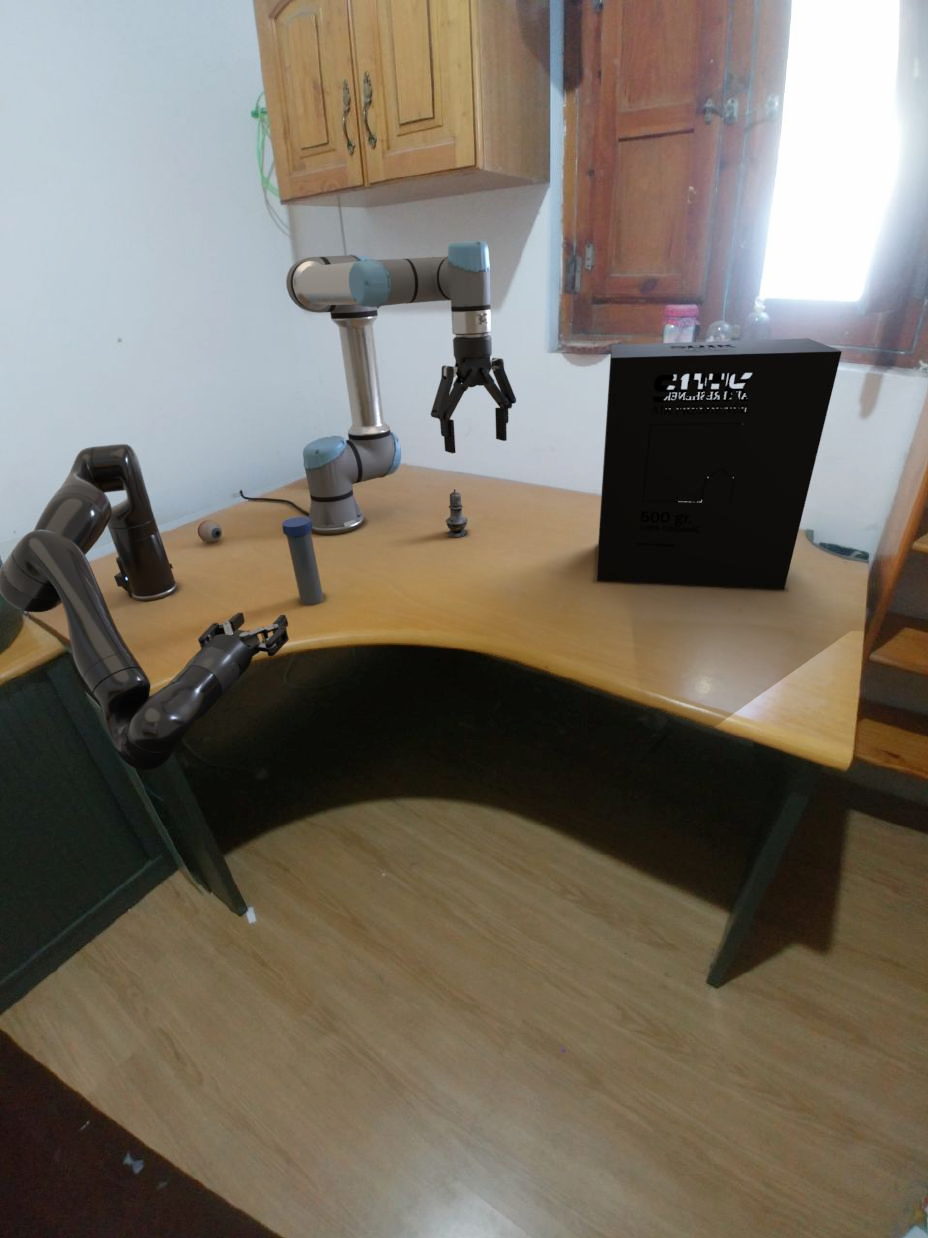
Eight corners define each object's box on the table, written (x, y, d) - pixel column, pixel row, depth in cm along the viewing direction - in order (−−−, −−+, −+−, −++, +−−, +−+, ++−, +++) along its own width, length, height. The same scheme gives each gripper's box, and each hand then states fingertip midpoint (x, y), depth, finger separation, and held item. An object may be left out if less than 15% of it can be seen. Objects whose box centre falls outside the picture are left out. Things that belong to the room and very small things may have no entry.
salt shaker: (466, 537, 156) (463, 492, 150) (444, 537, 157) (440, 492, 151) (470, 529, 161) (468, 485, 155) (449, 528, 162) (446, 485, 156)
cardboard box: (763, 549, 141) (808, 338, 118) (784, 589, 124) (841, 351, 101) (598, 544, 148) (611, 344, 126) (596, 581, 131) (611, 357, 109)
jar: (323, 592, 133) (308, 518, 125) (323, 602, 129) (308, 526, 121) (300, 596, 133) (284, 521, 124) (300, 606, 129) (284, 529, 120)
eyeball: (211, 547, 159) (205, 526, 156) (196, 543, 162) (190, 522, 159) (229, 539, 163) (224, 518, 160) (214, 536, 166) (209, 515, 164)
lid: (312, 524, 126) (310, 515, 125) (312, 534, 121) (310, 524, 120) (284, 528, 125) (282, 518, 124) (283, 538, 120) (281, 528, 119)
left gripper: (183, 683, 101) (233, 633, 114) (261, 689, 98) (303, 637, 112) (170, 645, 97) (223, 598, 111) (251, 650, 94) (295, 601, 108)
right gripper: (429, 342, 108) (437, 460, 118) (533, 329, 120) (532, 437, 131) (407, 340, 113) (417, 454, 124) (508, 328, 125) (510, 432, 136)
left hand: (263, 617), depth 111 cm, fingers open, 8 cm apart
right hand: (476, 445), depth 127 cm, fingers open, 13 cm apart
